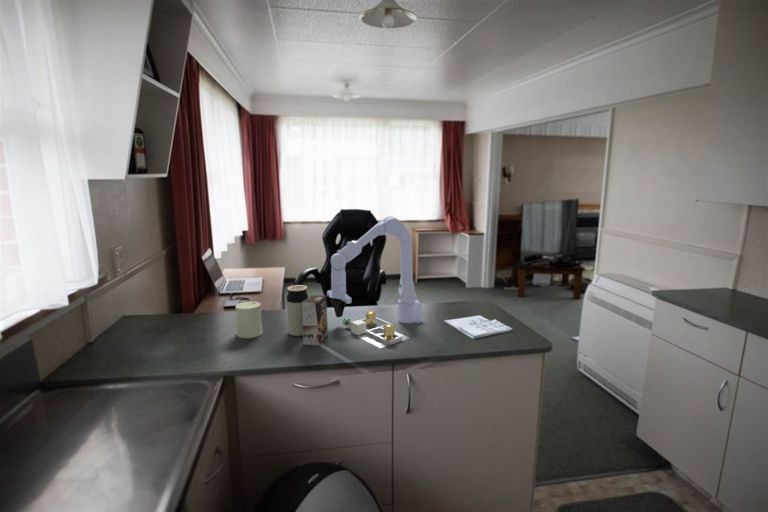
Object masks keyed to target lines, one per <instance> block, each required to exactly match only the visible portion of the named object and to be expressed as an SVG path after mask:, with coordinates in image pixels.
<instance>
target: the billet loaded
mask: <svg viewBox="0 0 768 512" xmlns="http://www.w3.org/2000/svg"><path fill="white" fill-rule="evenodd" d="M383 325H384V327H383V328H384V338H385V339H387V340H390V339H393V338H395V332H396V327H395V326H396V325H395V324H393V323H392V324H386V323H384V324H383Z"/></svg>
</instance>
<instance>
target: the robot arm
mask: <svg viewBox="0 0 768 512" xmlns="http://www.w3.org/2000/svg"><path fill="white" fill-rule="evenodd" d="M387 234H389V235H391V236H393V237H395V238H397V239H398V240H399V264H400V265H399V268H400V271H399V273H400V279H399V286H398V289H397V294H398V295H399V298H398V300H397V302H398V303H397V321H398V322H399V323H402V324H412V323H417V324H420V323H423V320H422V304H421V301H419V300H417V298H418V295H417V292H416V291H415V290H416V289H415V285H414V284H415V283H414V280H413V279H414V277H413V276H414V275H413V238H412V237H413V236H412V234H411V233H410V231H409V230H408V228H407V227H406V226H405V224H404V223H403V222H402V221H400V219H398V218H396V217H395V216H392V215H391V216H386V217H384V219H383V220H380V221H379V222H378V223H376V224H374V226H373V227H371V228H370V229H369V230H368V231H367V232H366V233H365V234H363V235H362V236H361V237H360V238H358V239H357V240H351V241H347V242H346V245H345V246H343V247H342V248H341V249H338V250H336V253H334V254H332V256H331V258H330V265H331V268H330V269H331V273H330V279H331V280H330V283H331V284H330V287H331V289H330V290H327V291H326V296H327V297H329V298H330V303H331V305H332V307H333V310H334V315H335V317H336V318H342V317H343V314H344V310H345V307H346V306H347V304H349V305H350V304H352V297H350V296H349V295H348V294H347V281H346V280H347V278H346V277H347V272H346V266H347V263H349V262H351V261H352V260H353V259H354V258H356V257H358V255H360V254H361V253H362V250H363V247H364V246H367V244H369V243H370V242H371V241H373V240H374V239H375V238H377V237H379V236H386V235H387Z"/></svg>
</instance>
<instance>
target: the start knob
mask: <svg viewBox="0 0 768 512" xmlns="http://www.w3.org/2000/svg"><path fill="white" fill-rule="evenodd" d="M351 322H352V321H351V320H350V319H349V318H347V317H346V318H343V321H342V324H343V325H344V326H345V327H346V326H349V327H351Z"/></svg>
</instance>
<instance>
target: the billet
mask: <svg viewBox="0 0 768 512" xmlns="http://www.w3.org/2000/svg"><path fill="white" fill-rule="evenodd" d="M376 317H377V312H376V311H375V310H367V311H365V318H366V326H369V327H371V326H372V327H374V326H376V325H377V319H376Z"/></svg>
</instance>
